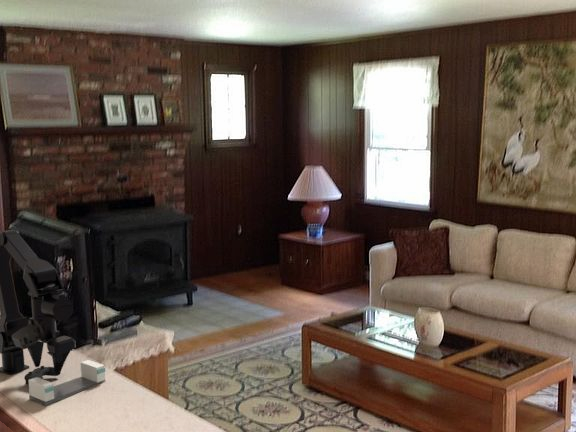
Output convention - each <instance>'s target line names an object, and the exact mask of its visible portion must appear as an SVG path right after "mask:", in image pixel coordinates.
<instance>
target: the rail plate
mask: <svg viewBox="0 0 576 432" xmlns="http://www.w3.org/2000/svg"><path fill="white" fill-rule="evenodd" d="M105 382H106V379H105V380H103V381H100V382H95V381H92V380H89V379H86V378H84V377H81V376H78V377H76V378H74V379H70V380H68V381H66V382H63V383H60V384H56V385H53V386H54V399H52V400H49V401H46V402H45V401H43V400H40V399H38V398H35V397H33V396H31V395H29V397H28V398H29V400H31V401H34V402H35V403H38V404H40V405H43V406H48V405H51V404H54V403H57V402H59V401H62V400H64V399H66V398H69V397H72V396H73V395H76V394H78V393H80V392H83V391H85V390H87V389H90V388H93V387H95V386H97V385H100V384H102V383H105Z"/></svg>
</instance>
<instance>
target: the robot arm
mask: <svg viewBox="0 0 576 432" xmlns="http://www.w3.org/2000/svg"><path fill="white" fill-rule="evenodd" d="M12 258H13V260H14V261H15V262H16V263H17V265H18V266H19V267H20V269H21V270H22V272H23V275H22V276H23V277H22V279H23V281H24V283H25V285H26V287H27V289H28V292H27V295H28V296H30V299H31V302H30V303H31V304H30V305H31V313H32V314H31V317H29V318H28V317H27V316H25V317H24V316H23V314H22V313H21V312H20V309H19V303H18V299H17V294H16V289H15V284H14V278H13V273H12V268H11V260H12ZM64 286H65V284H64V282H63V281H62V279H61V277H60V275H59V272H58V271H57V269H56V268H55V267H54V265H52V263H50V262H49V261H47V260H45V259H42V258H39V257H38V256H37V254H36V253H35V252H34V251H33V249H31V247H30V246H29V245H28V243H27V242H26V241H25V240H24V239H23V237H22V234H21V232H20V231H19V230H16V229H9V230H2V231H0V355H1V366H0V372H1V373H4V374H6V375H13V374H16V373H19V372H21V371H25V370H29V369H30V366H29V365H27V364H25V354H24V350H26V349H27V351H28V352H29V355H30V358H31V360H32V362H33V364H34V367H35V368H40V367H41V361H42V356H43V350H44V345H45V344H46V348H47V350H48V351H47V352H46V353H47V354H48V355H49V356H50V357H51V358H52V364H53V365H52V366H53V367H54V371H55V374H56V375H58V374H60V375H61V373H62V372H61V371H62V369H63V366H64V364H65V362H66V360H67V358H68V357H69V354H70V352H72V351H73V350H75V349H76V346H77V345H76V340H75V339H74V338H73V337H71V336H66V335H62V336H60V335H61V331H60V330H57V322H56V321H59V322H60V321H61V322H65V321H67V320H68V319H69V318H71V317H72V315H73V312H74V308H75V307H74V304H73V302H72V300H70V299H69V298H66V294H65V293H64V292H65V291H66V289H65V287H64ZM60 372H61V373H60ZM58 376H59V375H58Z"/></svg>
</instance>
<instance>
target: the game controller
mask: <svg viewBox="0 0 576 432" xmlns="http://www.w3.org/2000/svg"><path fill="white" fill-rule="evenodd" d="M61 373H62V372H60V374H58V375H56V374H55V371H54V366H45V365H40V366H39V367H35V368H34V369H33V370H32V371H28V372H27V373H26V374H25V375H24V380H25V383H24V384H25V385H28V386H29V379H32V378H35V377H38V378H41V379H44V377H45V376H47V377H48V376H49V377H57V376H60V375H61ZM43 376H44V377H43Z"/></svg>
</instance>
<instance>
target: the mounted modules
mask: <svg viewBox="0 0 576 432" xmlns="http://www.w3.org/2000/svg"><path fill="white" fill-rule="evenodd" d="M105 373H106V367H105V364H102V363H99V362H96V361H93V360H90V359H87V360H84V361H80V374H81V375H80V377H84V378H86V379H89V380H92V381H95V382H100V381H103V380H105V381H106V374H105ZM54 386H55V385H54V383H53V382H52V381H49V380H46V379H44V378H43V379H41V378H38V377H35V378H32V379H29V385H28V391H29V395H31V396H33V397H35V398H38V399H40V400H43V401H45V402H46V401H49V400H52V399H54Z"/></svg>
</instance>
